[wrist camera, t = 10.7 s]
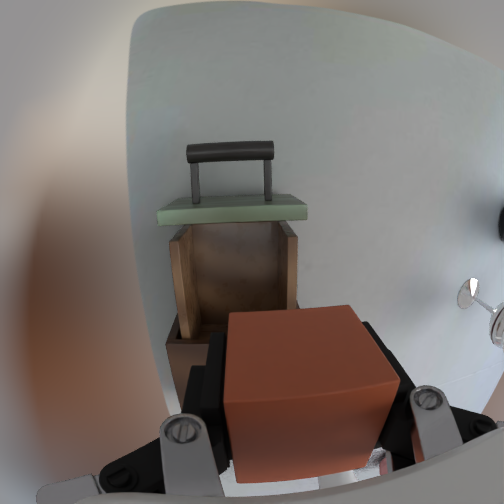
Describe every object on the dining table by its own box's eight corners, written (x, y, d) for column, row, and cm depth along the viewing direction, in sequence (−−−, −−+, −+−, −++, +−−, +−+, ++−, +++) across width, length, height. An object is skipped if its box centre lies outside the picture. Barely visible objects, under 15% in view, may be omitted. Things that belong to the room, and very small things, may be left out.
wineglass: (488, 285, 35) (537, 318, 23) (464, 320, 36) (509, 360, 25) (471, 264, 33) (527, 297, 22) (446, 302, 35) (496, 344, 23)
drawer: (174, 149, 27) (152, 145, 20) (289, 144, 28) (306, 138, 20) (190, 325, 33) (179, 367, 26) (289, 321, 33) (301, 363, 26)
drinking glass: (351, 435, 42) (374, 501, 28) (338, 455, 44) (356, 517, 30) (316, 437, 42) (333, 509, 27) (305, 457, 43) (318, 523, 29)
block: (228, 311, 10) (222, 401, 6) (349, 303, 11) (402, 379, 6) (236, 399, 12) (236, 484, 7) (336, 390, 12) (365, 467, 8)
